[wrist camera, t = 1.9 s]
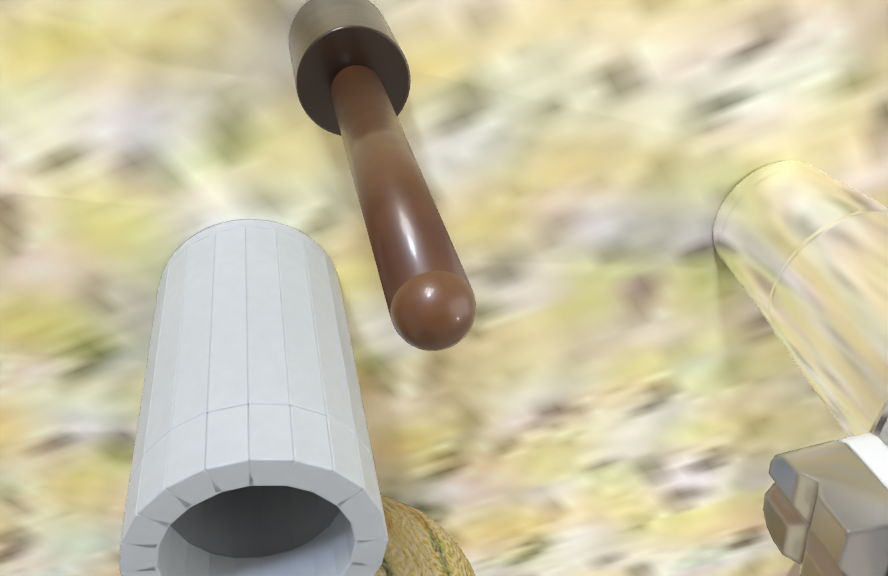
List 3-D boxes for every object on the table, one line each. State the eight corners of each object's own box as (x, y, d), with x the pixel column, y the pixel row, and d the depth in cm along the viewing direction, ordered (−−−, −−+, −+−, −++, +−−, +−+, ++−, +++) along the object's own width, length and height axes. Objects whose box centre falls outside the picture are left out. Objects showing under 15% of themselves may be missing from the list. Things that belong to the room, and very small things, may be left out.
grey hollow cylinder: (135, 238, 35) (80, 496, 23) (323, 203, 36) (367, 433, 24) (186, 382, 40) (164, 661, 28) (352, 348, 41) (402, 603, 29)
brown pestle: (279, -2, 31) (324, 268, 15) (381, -17, 32) (534, 227, 15) (299, 98, 34) (358, 427, 17) (395, 82, 34) (541, 387, 18)
